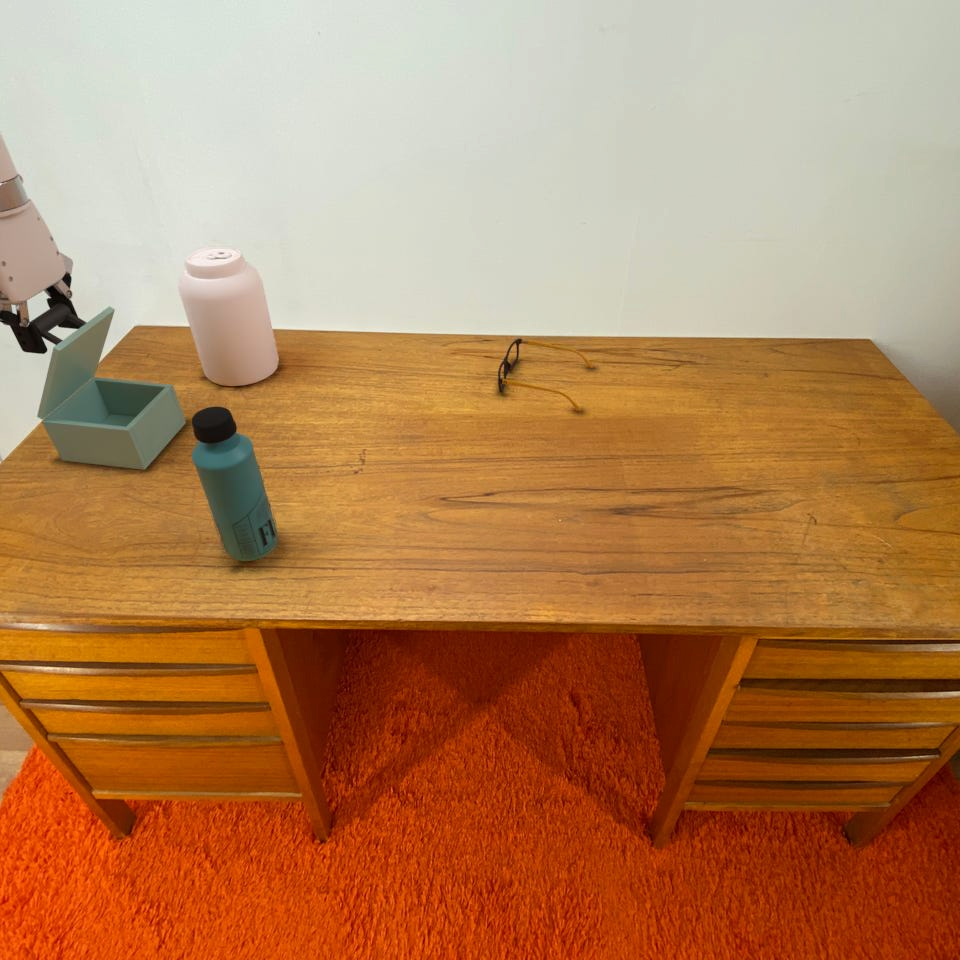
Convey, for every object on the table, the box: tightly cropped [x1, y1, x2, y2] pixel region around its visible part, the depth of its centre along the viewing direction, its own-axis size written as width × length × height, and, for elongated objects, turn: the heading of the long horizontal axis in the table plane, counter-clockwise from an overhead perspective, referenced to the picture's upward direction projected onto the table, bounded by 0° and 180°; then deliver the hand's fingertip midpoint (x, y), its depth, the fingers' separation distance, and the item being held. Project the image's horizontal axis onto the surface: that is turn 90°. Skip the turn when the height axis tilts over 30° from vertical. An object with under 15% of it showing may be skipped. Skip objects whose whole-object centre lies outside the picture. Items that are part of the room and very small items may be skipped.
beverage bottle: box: [191, 405, 279, 562], centre depth 71 cm, size 6×7×20 cm
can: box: [178, 245, 280, 387], centre depth 104 cm, size 12×12×20 cm
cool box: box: [41, 376, 187, 471], centre depth 92 cm, size 13×12×7 cm
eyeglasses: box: [497, 337, 594, 412], centre depth 107 cm, size 14×14×4 cm
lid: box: [30, 303, 116, 421], centre depth 85 cm, size 13×12×6 cm
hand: (53, 338), depth 84 cm, fingers closed on lid, 6 cm apart
